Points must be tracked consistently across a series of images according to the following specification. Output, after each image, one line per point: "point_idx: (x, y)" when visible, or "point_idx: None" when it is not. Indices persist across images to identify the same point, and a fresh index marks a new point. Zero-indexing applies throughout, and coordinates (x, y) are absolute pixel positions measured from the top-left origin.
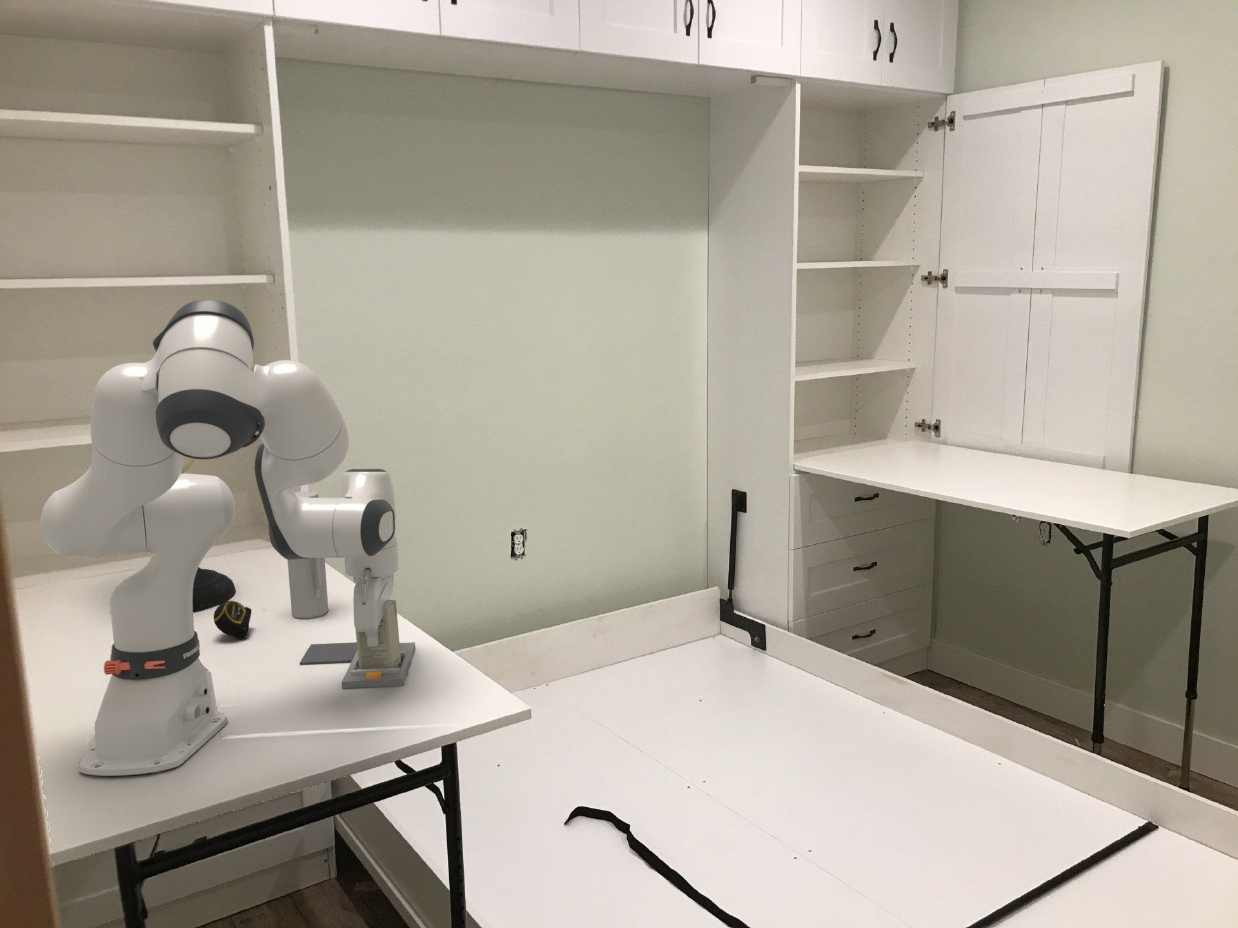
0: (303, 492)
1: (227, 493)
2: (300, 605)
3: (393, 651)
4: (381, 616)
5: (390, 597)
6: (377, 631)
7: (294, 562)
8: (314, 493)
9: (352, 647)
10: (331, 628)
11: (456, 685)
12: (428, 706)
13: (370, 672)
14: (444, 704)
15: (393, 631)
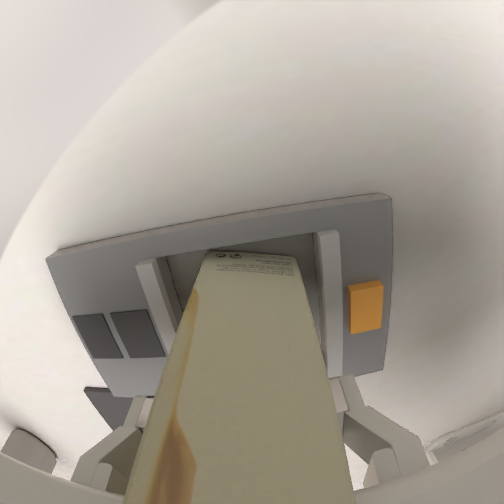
0: None
1: None
2: (48, 470)
3: (279, 297)
4: (441, 487)
5: (8, 458)
6: (394, 424)
7: None
8: None
9: (116, 401)
10: (53, 426)
11: (366, 15)
12: (494, 97)
13: (357, 323)
14: (481, 56)
15: (260, 365)
